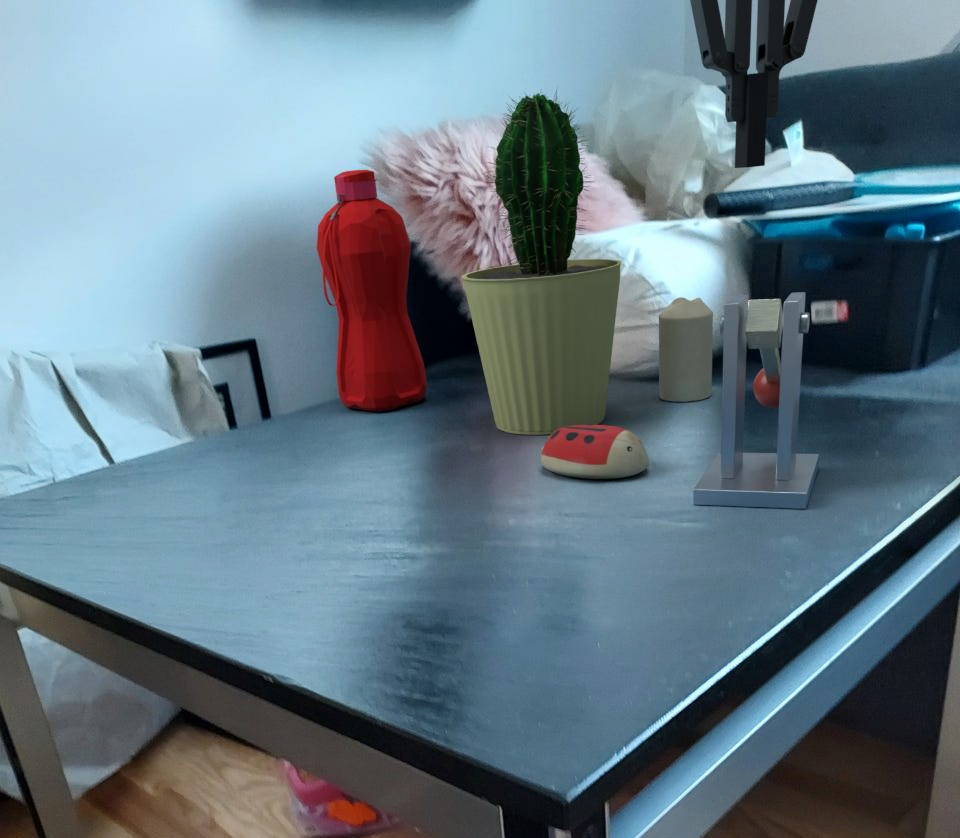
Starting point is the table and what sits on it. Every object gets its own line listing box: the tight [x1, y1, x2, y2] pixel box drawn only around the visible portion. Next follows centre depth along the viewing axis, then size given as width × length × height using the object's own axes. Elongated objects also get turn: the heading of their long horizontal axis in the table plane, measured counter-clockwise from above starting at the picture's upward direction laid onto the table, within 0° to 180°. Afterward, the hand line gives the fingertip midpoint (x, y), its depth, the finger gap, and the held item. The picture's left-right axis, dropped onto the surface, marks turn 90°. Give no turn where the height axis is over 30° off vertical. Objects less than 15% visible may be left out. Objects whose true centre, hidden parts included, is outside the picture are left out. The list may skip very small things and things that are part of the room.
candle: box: [658, 297, 714, 403], centre depth 100 cm, size 6×6×10 cm
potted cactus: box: [461, 86, 622, 436], centre depth 92 cm, size 15×15×30 cm
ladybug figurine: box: [540, 424, 650, 480], centre depth 80 cm, size 7×10×4 cm
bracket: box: [692, 291, 820, 510], centre depth 70 cm, size 10×8×14 cm
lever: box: [745, 298, 784, 410], centre depth 73 cm, size 14×4×4 cm
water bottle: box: [316, 169, 428, 413], centre depth 107 cm, size 9×11×25 cm
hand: (749, 166), depth 77 cm, fingers closed
